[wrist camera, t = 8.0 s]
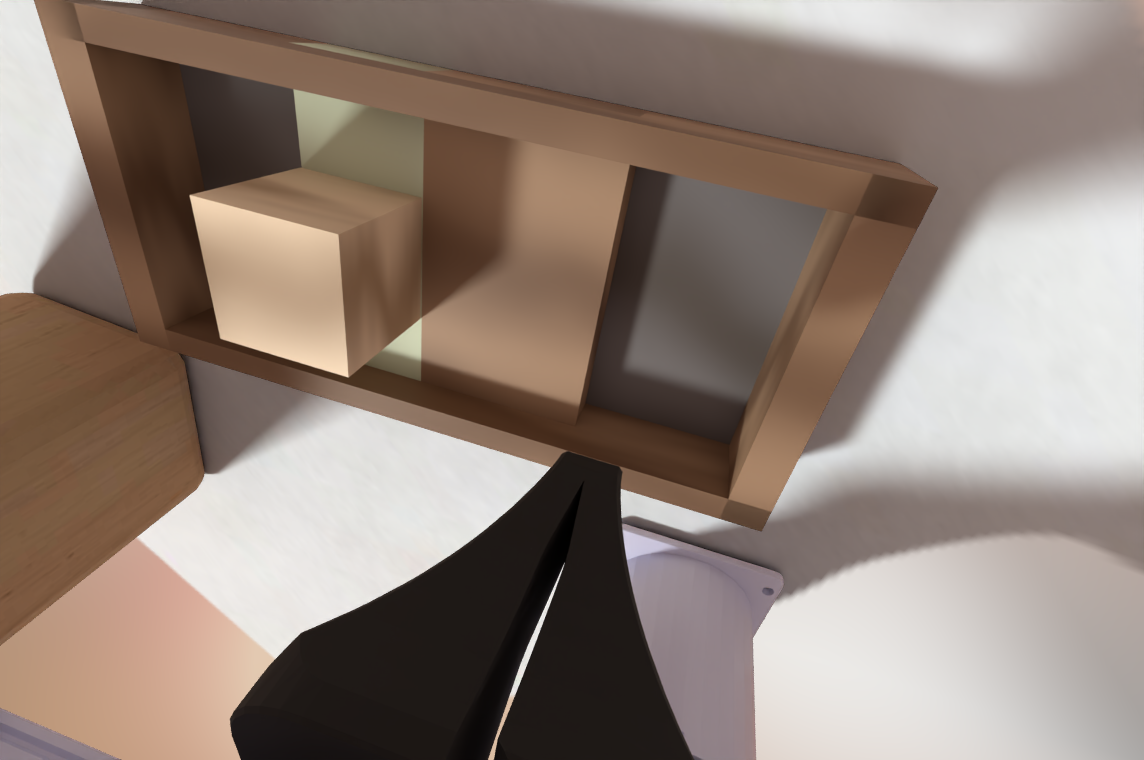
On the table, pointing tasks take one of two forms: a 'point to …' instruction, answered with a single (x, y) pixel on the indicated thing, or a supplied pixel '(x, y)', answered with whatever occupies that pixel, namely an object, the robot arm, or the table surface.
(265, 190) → the maple block
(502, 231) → the box
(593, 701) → the robot arm
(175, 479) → the wooden block
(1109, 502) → the table surface
